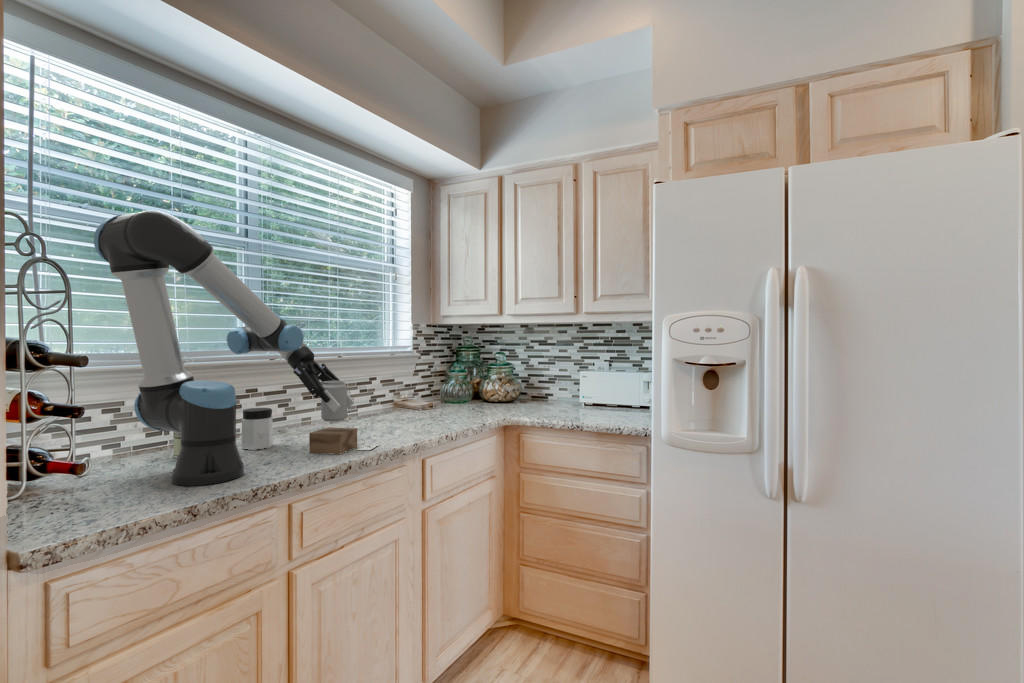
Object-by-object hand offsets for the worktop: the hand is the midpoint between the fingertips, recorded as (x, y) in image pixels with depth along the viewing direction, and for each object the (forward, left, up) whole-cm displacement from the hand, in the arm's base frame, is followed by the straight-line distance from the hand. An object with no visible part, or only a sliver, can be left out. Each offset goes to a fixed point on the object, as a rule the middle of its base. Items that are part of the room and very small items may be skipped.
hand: (344, 406), depth 155 cm
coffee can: (-14, +40, -13) cm, 45 cm away
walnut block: (0, +3, -13) cm, 14 cm away
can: (0, +3, -4) cm, 5 cm away
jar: (-1, +29, -13) cm, 32 cm away
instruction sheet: (+5, -5, -13) cm, 15 cm away
